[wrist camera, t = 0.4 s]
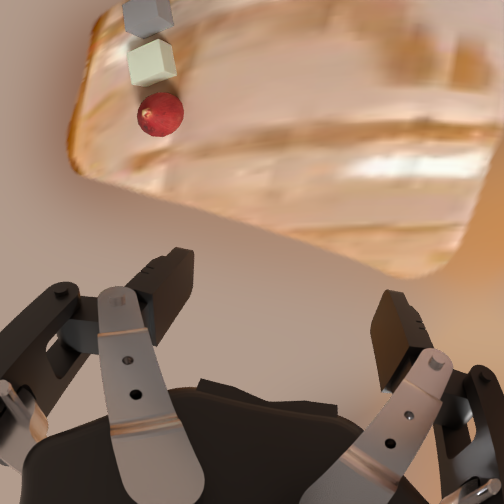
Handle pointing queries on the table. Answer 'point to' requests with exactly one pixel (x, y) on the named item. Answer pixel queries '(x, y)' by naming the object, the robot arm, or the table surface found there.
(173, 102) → the onion
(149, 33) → the slate block
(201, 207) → the table surface
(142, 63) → the sage block
